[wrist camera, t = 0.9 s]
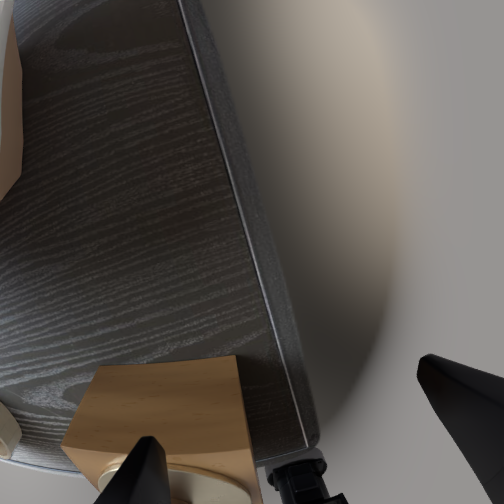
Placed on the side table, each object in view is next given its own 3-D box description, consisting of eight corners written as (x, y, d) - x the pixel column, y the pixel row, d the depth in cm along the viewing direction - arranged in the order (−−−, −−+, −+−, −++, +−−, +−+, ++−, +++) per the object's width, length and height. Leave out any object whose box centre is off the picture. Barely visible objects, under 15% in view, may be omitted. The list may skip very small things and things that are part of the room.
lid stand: (251, 443, 23) (266, 519, 14) (142, 449, 22) (130, 521, 13) (235, 354, 20) (250, 448, 12) (99, 365, 19) (59, 445, 10)
